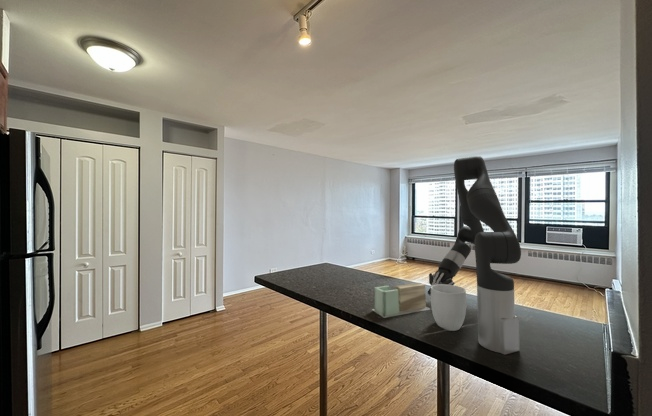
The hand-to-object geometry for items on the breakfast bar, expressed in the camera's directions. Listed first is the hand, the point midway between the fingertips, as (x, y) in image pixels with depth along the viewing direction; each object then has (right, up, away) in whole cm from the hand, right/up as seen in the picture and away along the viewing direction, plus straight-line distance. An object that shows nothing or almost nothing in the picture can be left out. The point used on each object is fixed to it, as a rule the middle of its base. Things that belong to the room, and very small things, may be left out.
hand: (429, 295), depth 110 cm
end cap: (-20, -4, -7) cm, 22 cm away
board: (-13, -5, -5) cm, 15 cm away
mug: (-1, -4, -20) cm, 20 cm away
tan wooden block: (-9, -4, -3) cm, 11 cm away
